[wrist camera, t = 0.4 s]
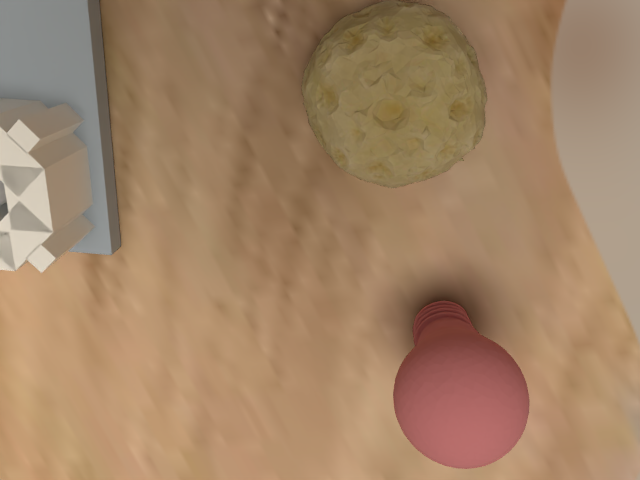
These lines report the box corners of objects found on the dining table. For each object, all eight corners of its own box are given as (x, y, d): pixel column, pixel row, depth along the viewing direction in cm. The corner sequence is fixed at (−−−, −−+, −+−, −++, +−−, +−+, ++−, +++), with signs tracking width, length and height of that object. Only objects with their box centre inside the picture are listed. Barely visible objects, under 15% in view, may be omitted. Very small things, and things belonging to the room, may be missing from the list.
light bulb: (520, 329, 40) (573, 458, 29) (431, 381, 42) (449, 519, 31) (459, 251, 38) (490, 356, 27) (369, 309, 40) (365, 428, 29)
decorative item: (316, 105, 39) (322, 234, 34) (282, -27, 31) (282, 118, 26) (463, 83, 38) (492, 214, 33) (469, -61, 30) (508, 84, 25)
